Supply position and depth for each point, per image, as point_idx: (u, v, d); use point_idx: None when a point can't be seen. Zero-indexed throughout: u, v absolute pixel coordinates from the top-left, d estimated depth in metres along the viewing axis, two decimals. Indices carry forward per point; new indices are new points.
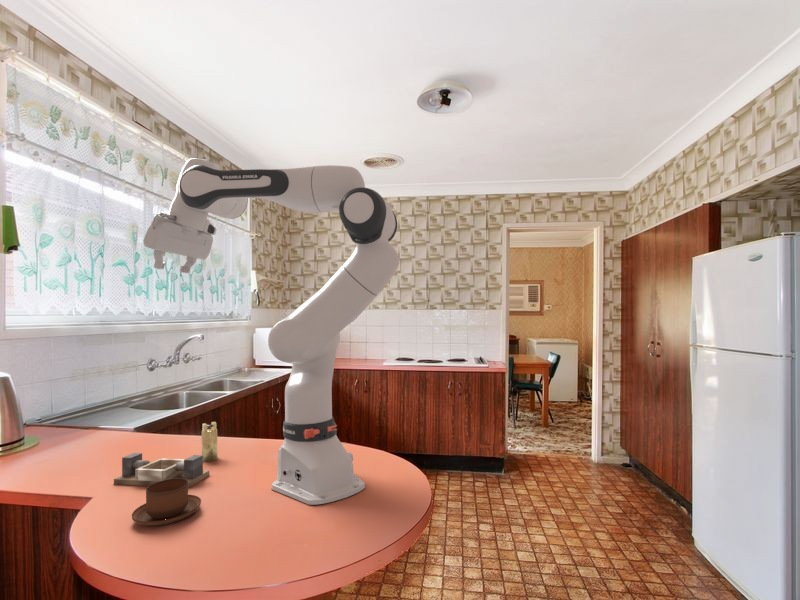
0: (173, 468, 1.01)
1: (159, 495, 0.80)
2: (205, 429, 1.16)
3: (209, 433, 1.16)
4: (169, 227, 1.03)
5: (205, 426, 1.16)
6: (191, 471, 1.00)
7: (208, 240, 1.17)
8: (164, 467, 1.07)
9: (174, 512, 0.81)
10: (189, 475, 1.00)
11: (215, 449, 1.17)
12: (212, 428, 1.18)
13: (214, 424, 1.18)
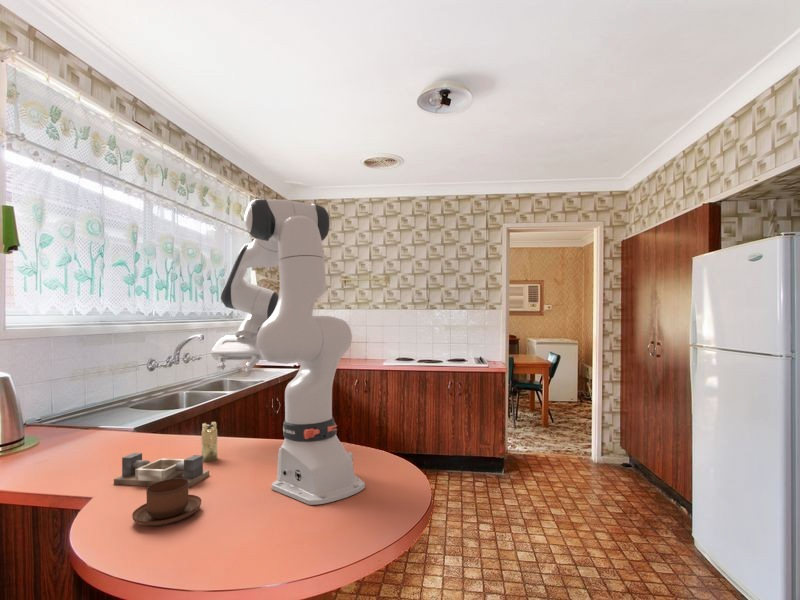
0: (173, 468, 1.01)
1: (159, 495, 0.80)
2: (205, 429, 1.16)
3: (209, 433, 1.16)
4: (224, 339, 1.38)
5: (205, 426, 1.16)
6: (191, 471, 1.00)
7: None
8: (164, 467, 1.07)
9: (174, 512, 0.81)
10: (189, 475, 1.00)
11: (215, 449, 1.17)
12: (212, 428, 1.18)
13: (214, 424, 1.18)
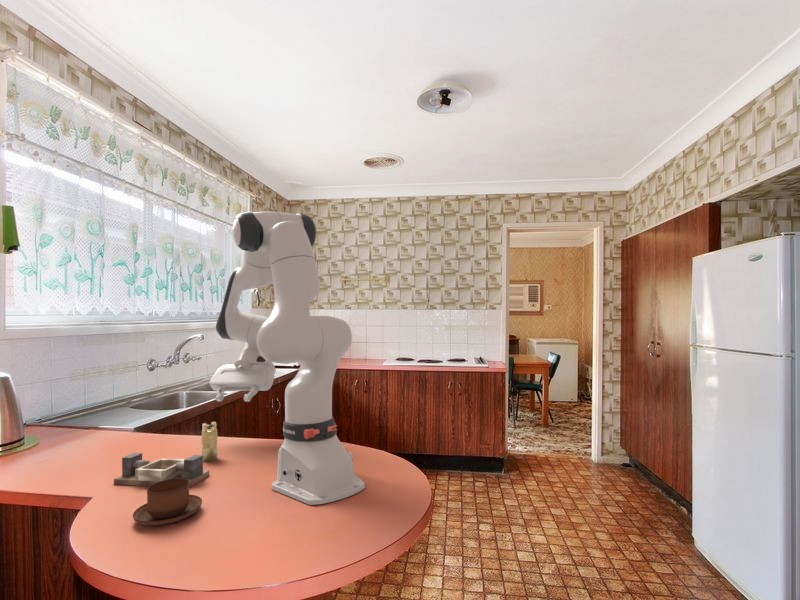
0: (173, 468, 1.01)
1: (160, 495, 0.80)
2: (205, 429, 1.16)
3: (209, 433, 1.16)
4: (223, 369, 1.37)
5: (205, 426, 1.16)
6: (191, 471, 1.00)
7: (264, 369, 1.33)
8: (164, 467, 1.07)
9: (175, 512, 0.81)
10: (189, 475, 1.00)
11: (215, 449, 1.17)
12: (212, 428, 1.18)
13: (214, 424, 1.18)
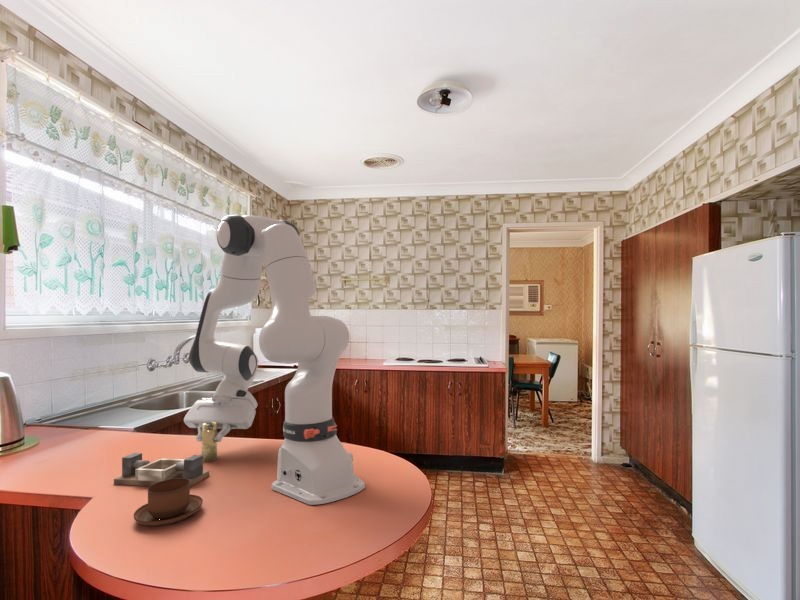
0: (173, 468, 1.01)
1: (161, 495, 0.80)
2: (205, 429, 1.16)
3: (209, 433, 1.16)
4: (199, 404, 1.25)
5: (205, 426, 1.16)
6: (191, 471, 1.00)
7: (244, 404, 1.22)
8: (164, 467, 1.07)
9: (176, 512, 0.81)
10: (189, 475, 1.00)
11: (215, 449, 1.17)
12: (212, 428, 1.18)
13: (214, 424, 1.18)
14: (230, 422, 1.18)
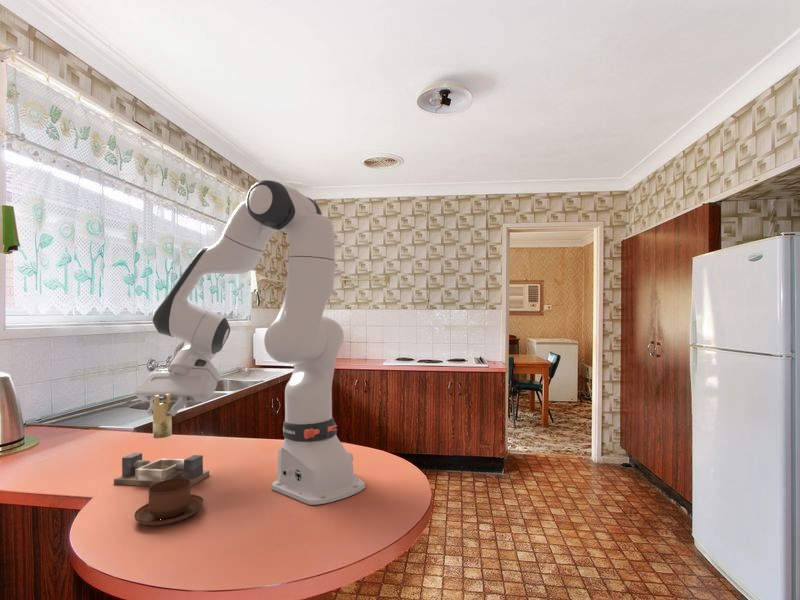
0: (173, 468, 1.01)
1: (161, 495, 0.80)
2: (157, 401, 1.02)
3: (161, 406, 1.02)
4: (154, 375, 1.11)
5: (157, 398, 1.02)
6: (191, 471, 1.00)
7: (203, 375, 1.08)
8: (164, 467, 1.07)
9: (177, 512, 0.81)
10: (189, 475, 1.00)
11: (168, 424, 1.03)
12: (166, 401, 1.04)
13: (168, 396, 1.04)
14: (186, 394, 1.05)
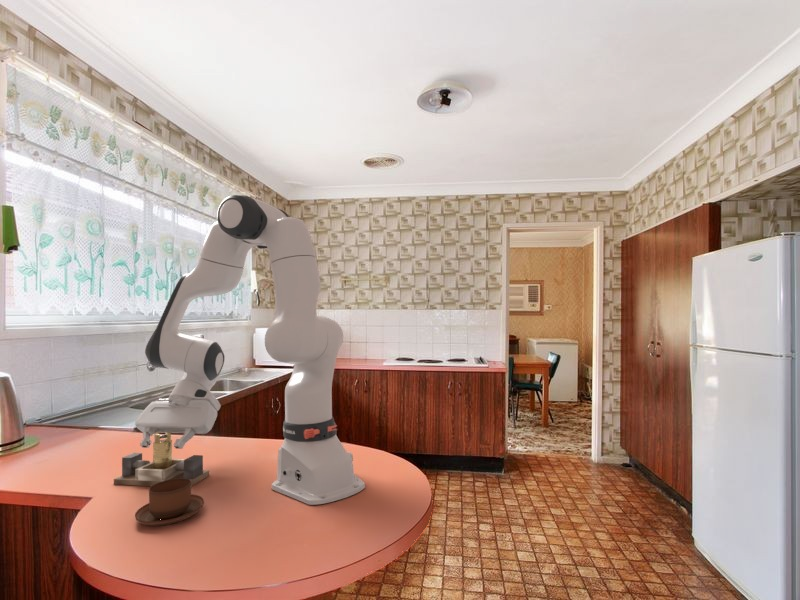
0: (173, 468, 1.01)
1: (162, 495, 0.80)
2: (157, 440, 1.02)
3: (161, 445, 1.02)
4: (154, 405, 1.11)
5: (157, 437, 1.02)
6: (191, 471, 1.00)
7: (203, 406, 1.07)
8: None
9: (177, 512, 0.81)
10: (189, 475, 1.00)
11: (169, 463, 1.03)
12: (166, 439, 1.04)
13: (168, 434, 1.03)
14: (186, 426, 1.04)
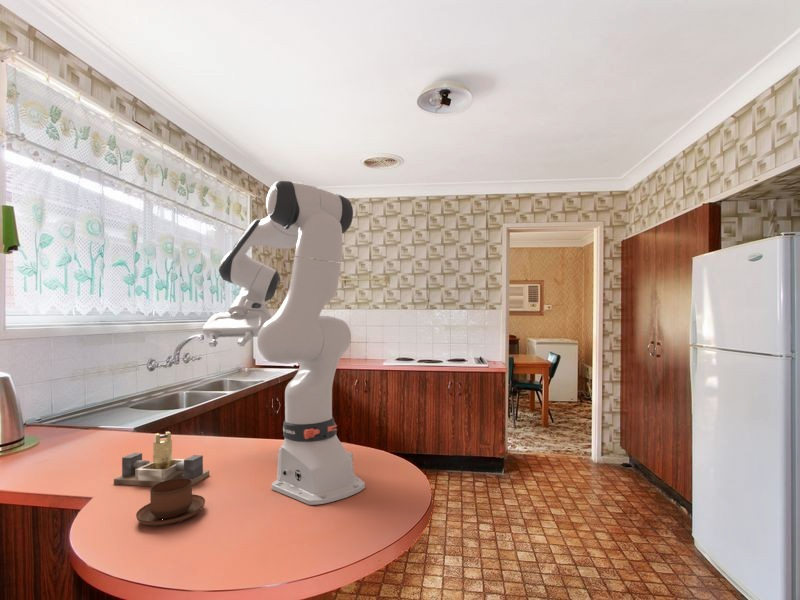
0: (173, 468, 1.01)
1: (163, 495, 0.80)
2: (157, 440, 1.02)
3: (161, 445, 1.02)
4: (217, 316, 1.32)
5: (157, 437, 1.02)
6: (191, 471, 1.00)
7: (259, 315, 1.29)
8: None
9: (178, 512, 0.81)
10: (189, 475, 1.00)
11: (169, 463, 1.03)
12: (166, 439, 1.04)
13: (168, 434, 1.03)
14: (246, 329, 1.26)
